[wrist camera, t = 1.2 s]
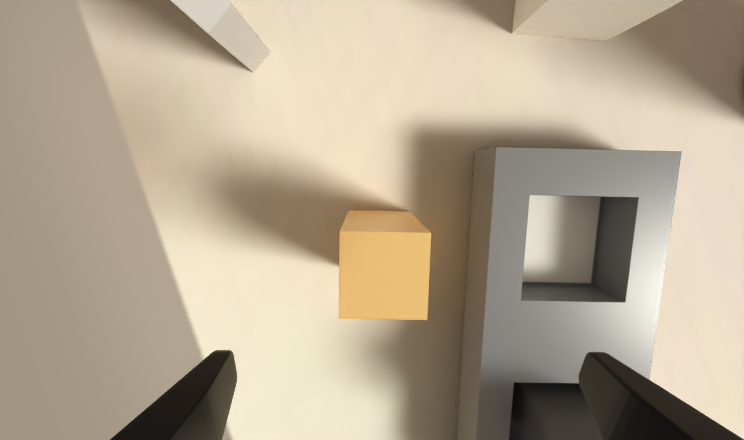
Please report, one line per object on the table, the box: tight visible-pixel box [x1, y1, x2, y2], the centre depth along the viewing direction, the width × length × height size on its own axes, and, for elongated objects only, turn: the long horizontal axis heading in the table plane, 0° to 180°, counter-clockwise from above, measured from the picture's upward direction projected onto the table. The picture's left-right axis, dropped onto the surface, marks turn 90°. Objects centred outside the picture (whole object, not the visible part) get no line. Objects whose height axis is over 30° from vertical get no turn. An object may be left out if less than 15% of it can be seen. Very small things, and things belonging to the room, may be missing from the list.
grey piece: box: [456, 147, 682, 440], centre depth 23 cm, size 22×10×4 cm, turn 178°
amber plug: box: [339, 210, 431, 320], centre depth 20 cm, size 4×4×8 cm
